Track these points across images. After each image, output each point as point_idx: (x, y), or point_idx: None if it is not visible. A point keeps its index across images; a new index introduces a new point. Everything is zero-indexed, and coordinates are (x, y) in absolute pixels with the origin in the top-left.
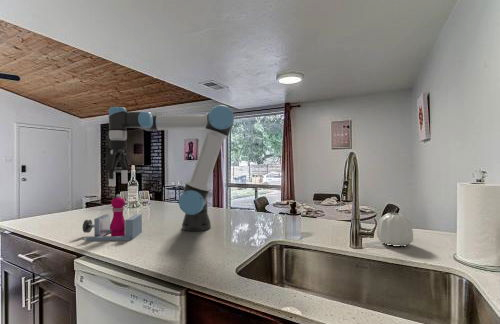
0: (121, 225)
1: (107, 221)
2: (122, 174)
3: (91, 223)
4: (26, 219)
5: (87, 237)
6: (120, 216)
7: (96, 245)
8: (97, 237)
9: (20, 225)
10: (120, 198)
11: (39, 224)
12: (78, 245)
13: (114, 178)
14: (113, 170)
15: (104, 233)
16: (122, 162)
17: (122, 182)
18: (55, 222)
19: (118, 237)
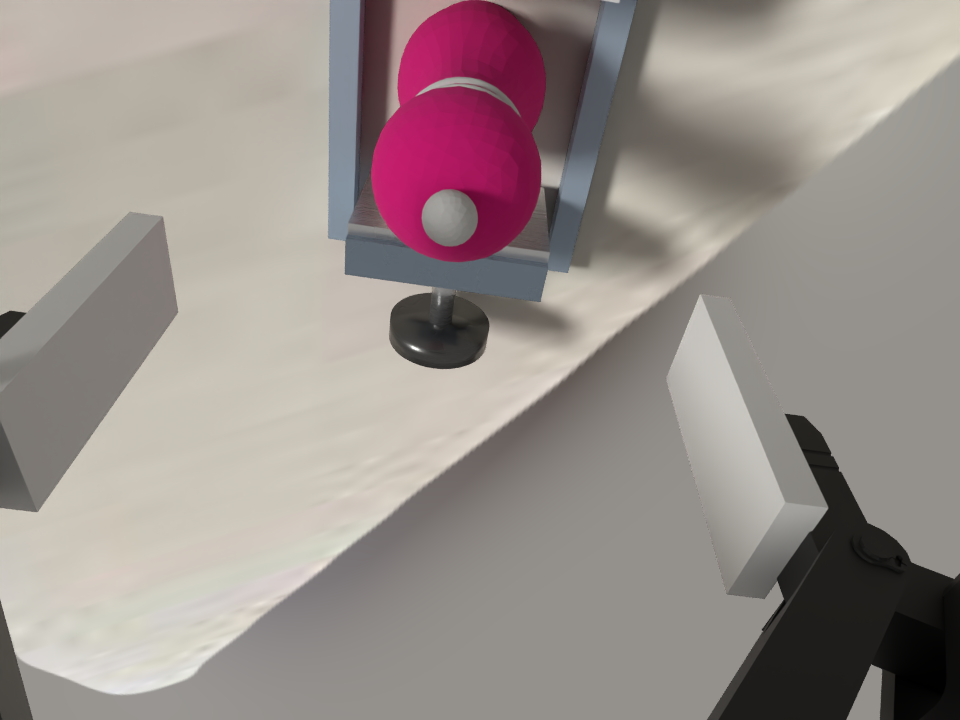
0: (528, 46)
1: None
2: (88, 414)
3: (403, 322)
4: (60, 659)
5: (569, 264)
6: (502, 87)
7: (708, 159)
8: (585, 199)
9: (186, 637)
10: (485, 165)
11: (156, 587)
12: (663, 271)
13: (768, 396)
14: (885, 550)
15: None
16: (14, 712)
17: (167, 306)
18: (98, 546)
19: (629, 27)
